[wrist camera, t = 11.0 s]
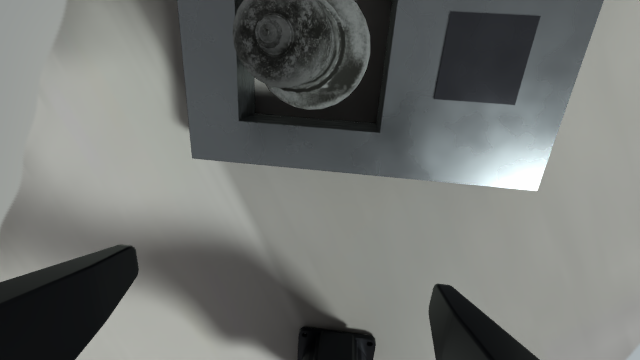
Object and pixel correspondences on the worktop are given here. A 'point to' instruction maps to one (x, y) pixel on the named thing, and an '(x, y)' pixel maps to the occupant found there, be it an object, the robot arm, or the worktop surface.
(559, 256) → the worktop surface
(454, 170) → the grey flat block
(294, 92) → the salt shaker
